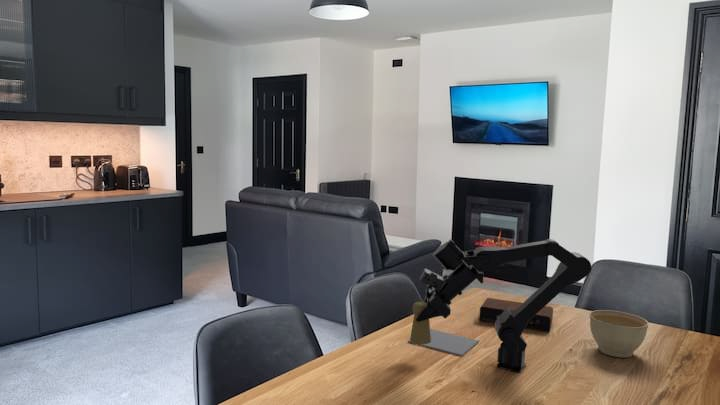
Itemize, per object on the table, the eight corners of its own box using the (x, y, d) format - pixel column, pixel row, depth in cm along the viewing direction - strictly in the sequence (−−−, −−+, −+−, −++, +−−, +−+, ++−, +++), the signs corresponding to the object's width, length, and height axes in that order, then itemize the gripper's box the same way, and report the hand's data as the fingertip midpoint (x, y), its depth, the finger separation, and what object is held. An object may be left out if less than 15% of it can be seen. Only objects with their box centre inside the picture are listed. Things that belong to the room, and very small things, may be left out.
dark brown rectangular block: (479, 322, 186) (480, 306, 186) (485, 312, 197) (486, 297, 196) (549, 333, 177) (550, 316, 176) (552, 323, 188) (553, 307, 187)
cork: (432, 344, 147) (433, 306, 146) (410, 343, 148) (412, 305, 146) (429, 336, 153) (431, 299, 152) (409, 335, 154) (410, 299, 152)
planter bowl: (653, 365, 152) (656, 329, 151) (593, 359, 155) (596, 324, 154) (635, 345, 168) (638, 312, 167) (582, 340, 171) (584, 307, 170)
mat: (479, 342, 166) (479, 340, 166) (462, 356, 155) (462, 354, 155) (427, 329, 176) (427, 328, 176) (407, 342, 164) (407, 340, 164)
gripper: (435, 253, 157) (397, 288, 159) (439, 268, 138) (396, 307, 140) (461, 280, 157) (422, 314, 159) (468, 299, 139) (425, 337, 141)
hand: (416, 317), depth 150 cm, fingers closed on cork, 5 cm apart
